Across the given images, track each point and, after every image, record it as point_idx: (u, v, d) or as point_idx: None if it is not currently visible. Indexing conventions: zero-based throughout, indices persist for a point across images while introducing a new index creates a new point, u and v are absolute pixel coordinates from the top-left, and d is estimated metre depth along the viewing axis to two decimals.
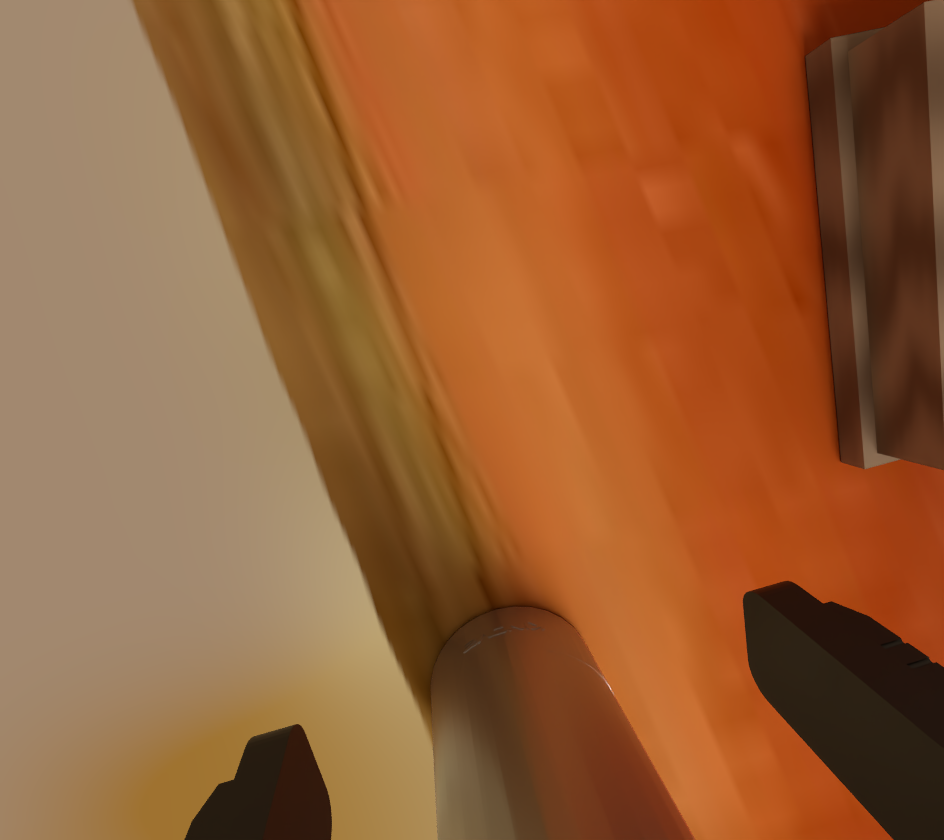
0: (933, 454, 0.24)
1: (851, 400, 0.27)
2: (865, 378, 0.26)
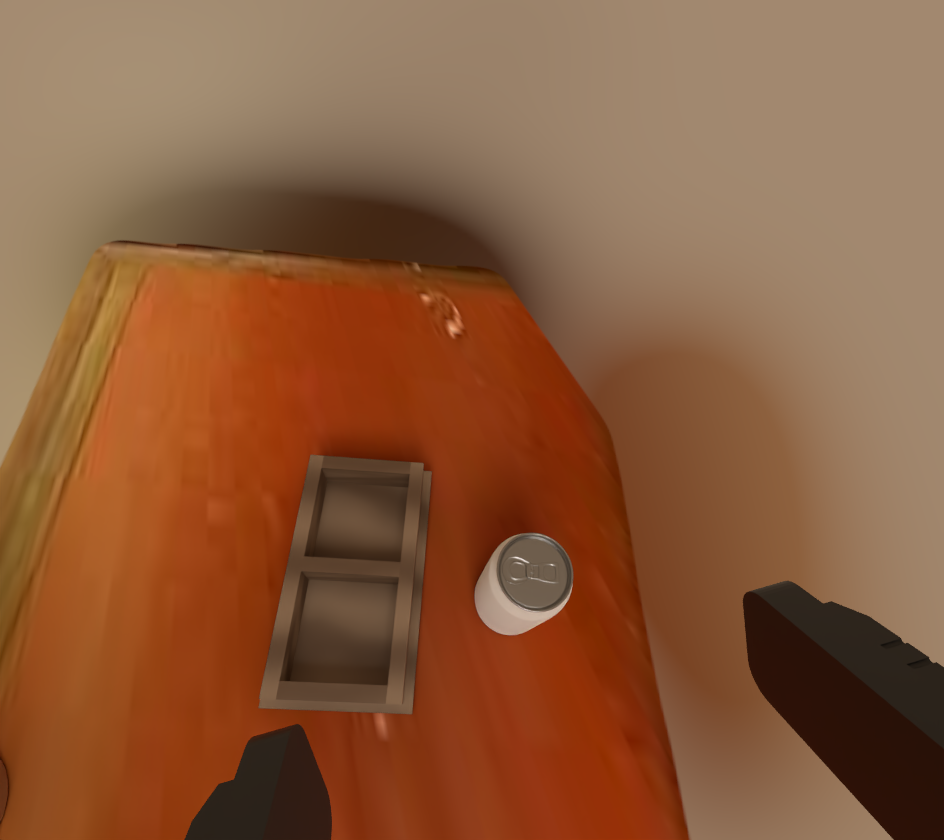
0: None
1: None
2: None
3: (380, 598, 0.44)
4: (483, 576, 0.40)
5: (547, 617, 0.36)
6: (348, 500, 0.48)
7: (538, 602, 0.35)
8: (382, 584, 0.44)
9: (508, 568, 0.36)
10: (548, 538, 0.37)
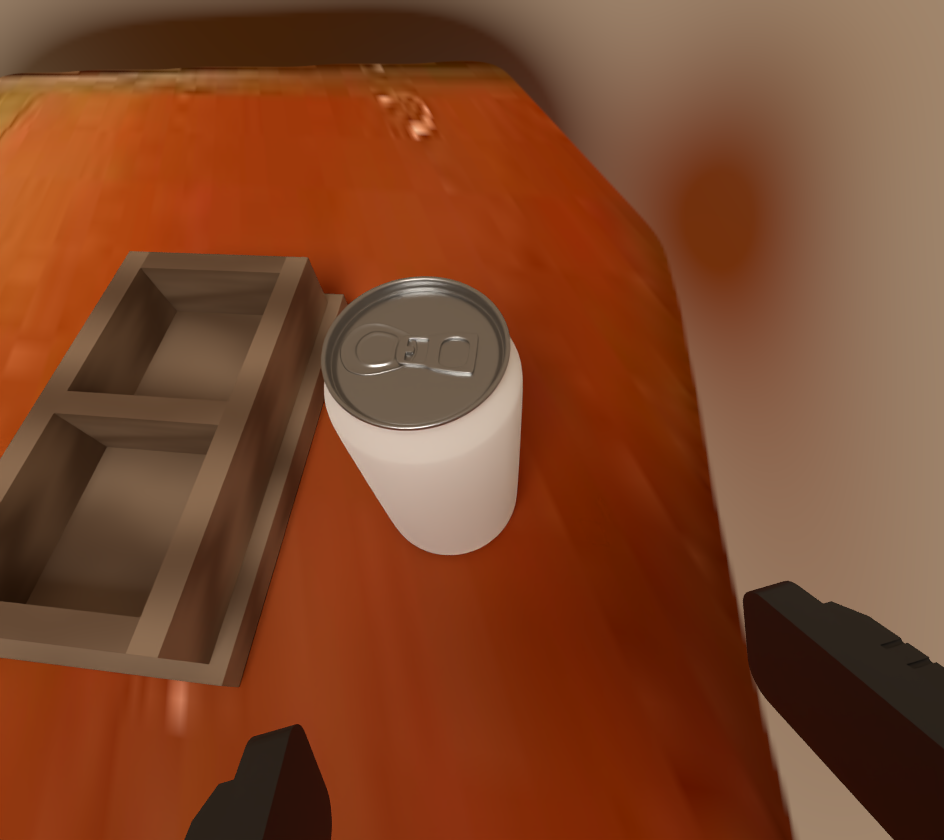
0: None
1: None
2: None
3: None
4: None
5: (444, 458, 0.14)
6: (202, 335, 0.29)
7: (413, 413, 0.14)
8: None
9: (356, 345, 0.15)
10: (461, 286, 0.16)
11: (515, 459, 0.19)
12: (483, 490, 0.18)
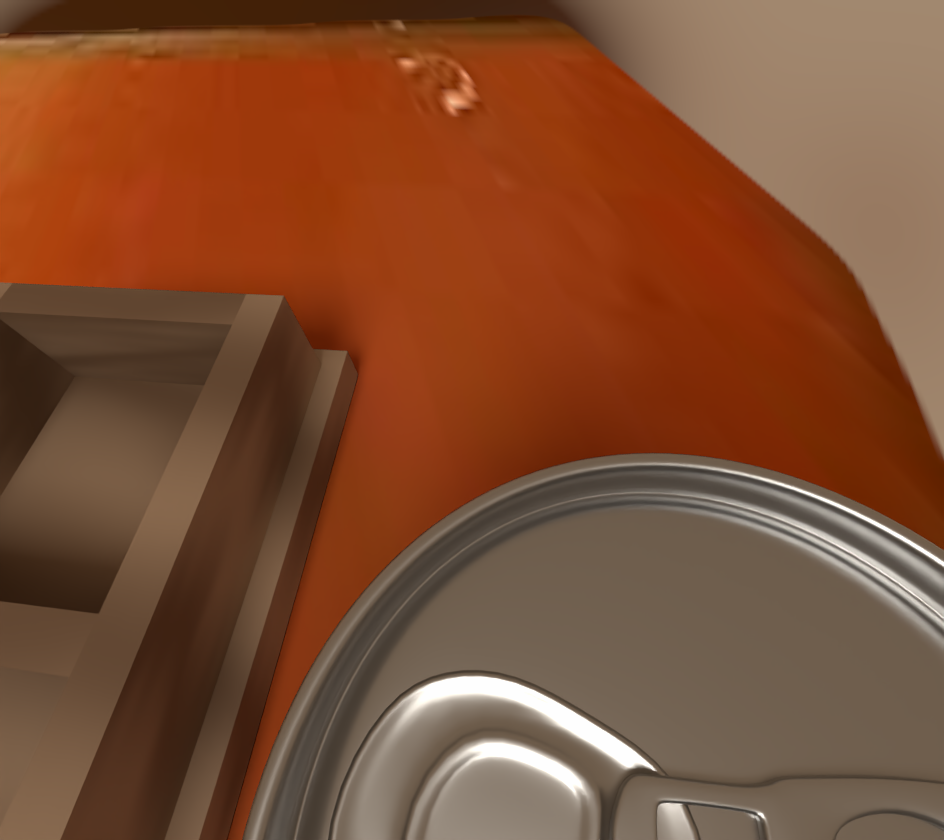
0: None
1: None
2: None
3: None
4: None
5: None
6: (109, 421, 0.17)
7: None
8: None
9: (403, 817, 0.03)
10: (834, 508, 0.04)
11: None
12: None
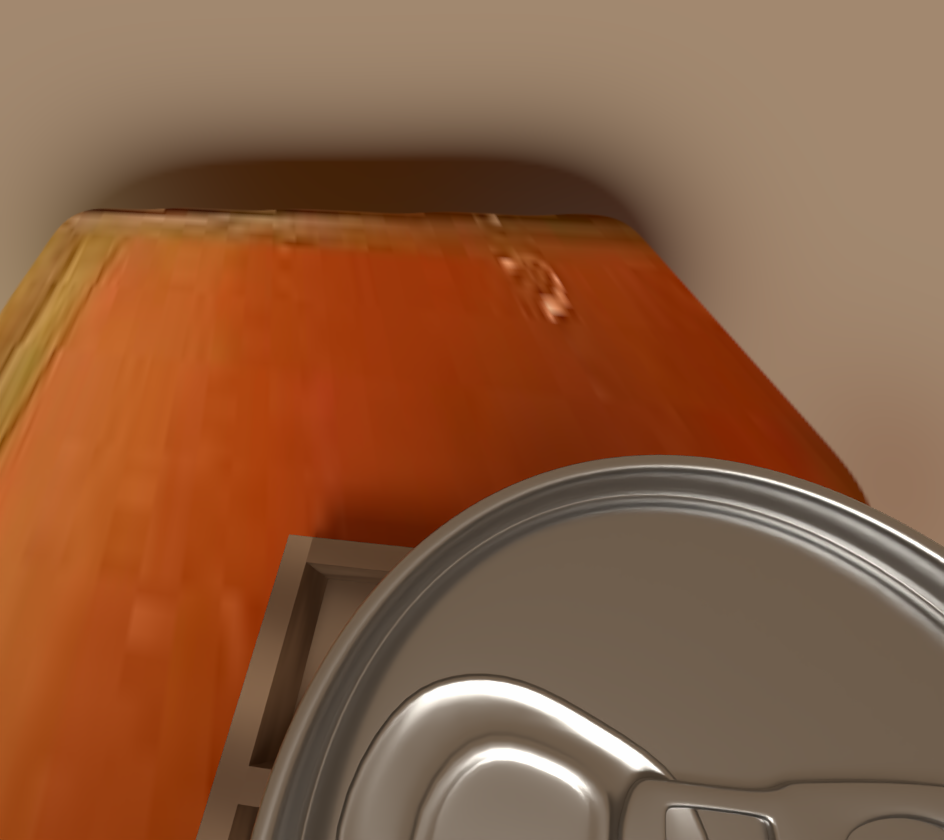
0: None
1: None
2: None
3: None
4: None
5: None
6: None
7: None
8: None
9: (411, 822, 0.03)
10: (842, 510, 0.04)
11: None
12: None
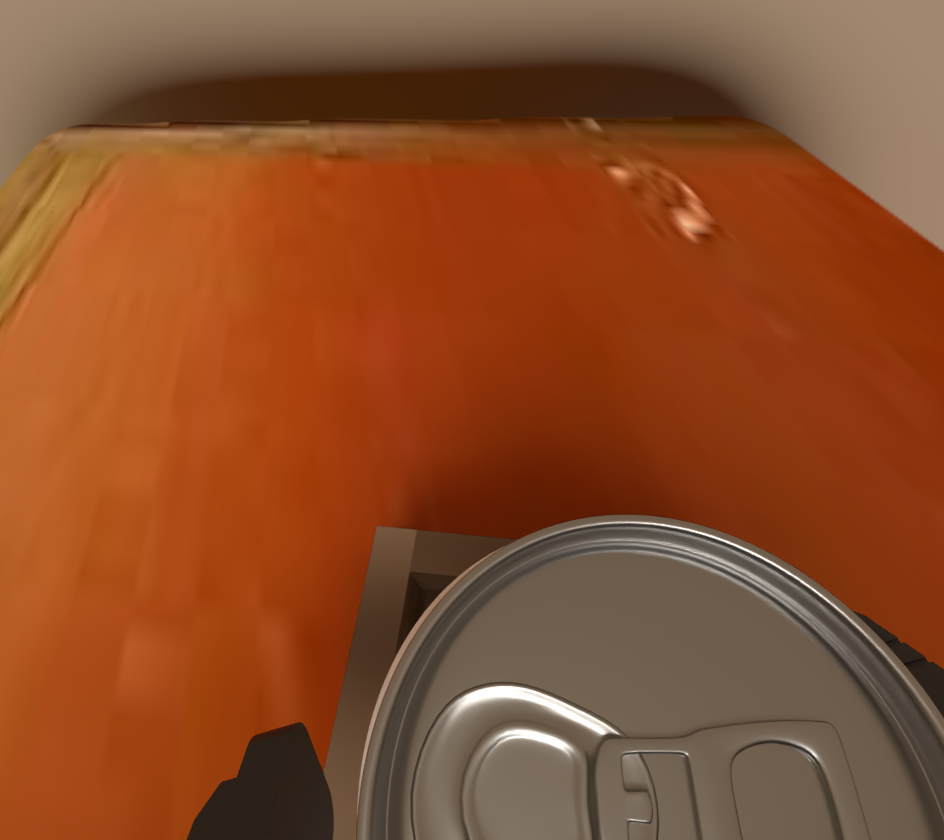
0: None
1: None
2: None
3: None
4: None
5: None
6: None
7: None
8: None
9: (458, 785, 0.05)
10: (726, 545, 0.06)
11: None
12: None
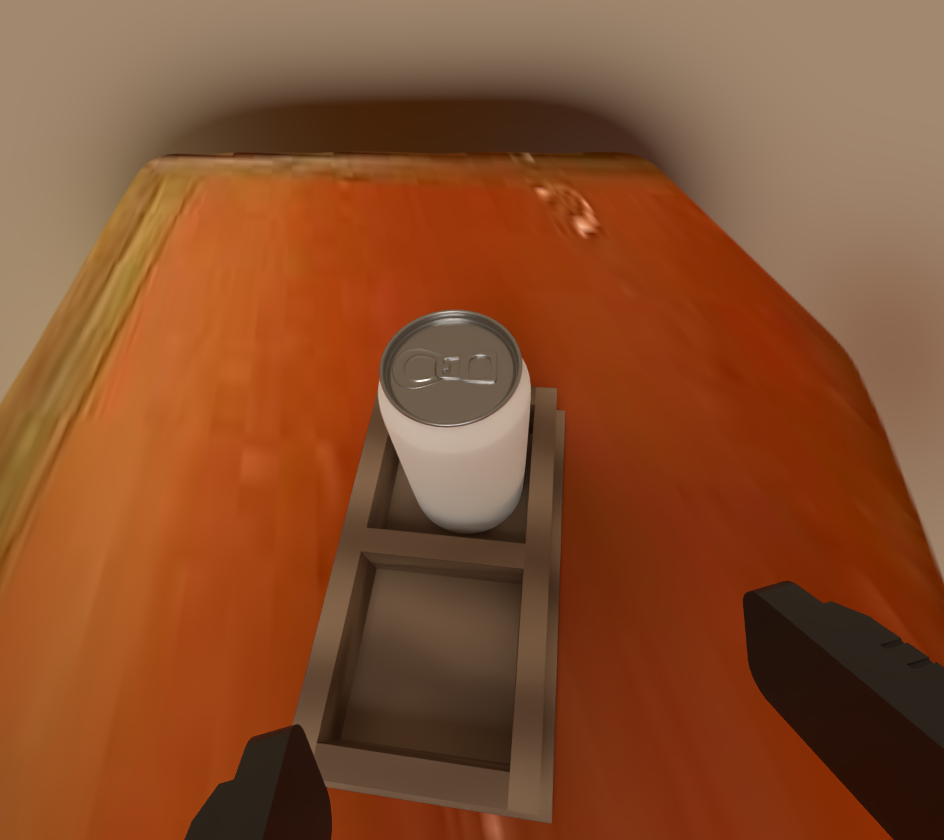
0: None
1: None
2: None
3: (489, 605, 0.26)
4: None
5: (479, 446, 0.19)
6: None
7: (455, 413, 0.19)
8: (492, 582, 0.27)
9: (404, 366, 0.20)
10: (479, 316, 0.21)
11: (525, 447, 0.24)
12: (504, 472, 0.22)
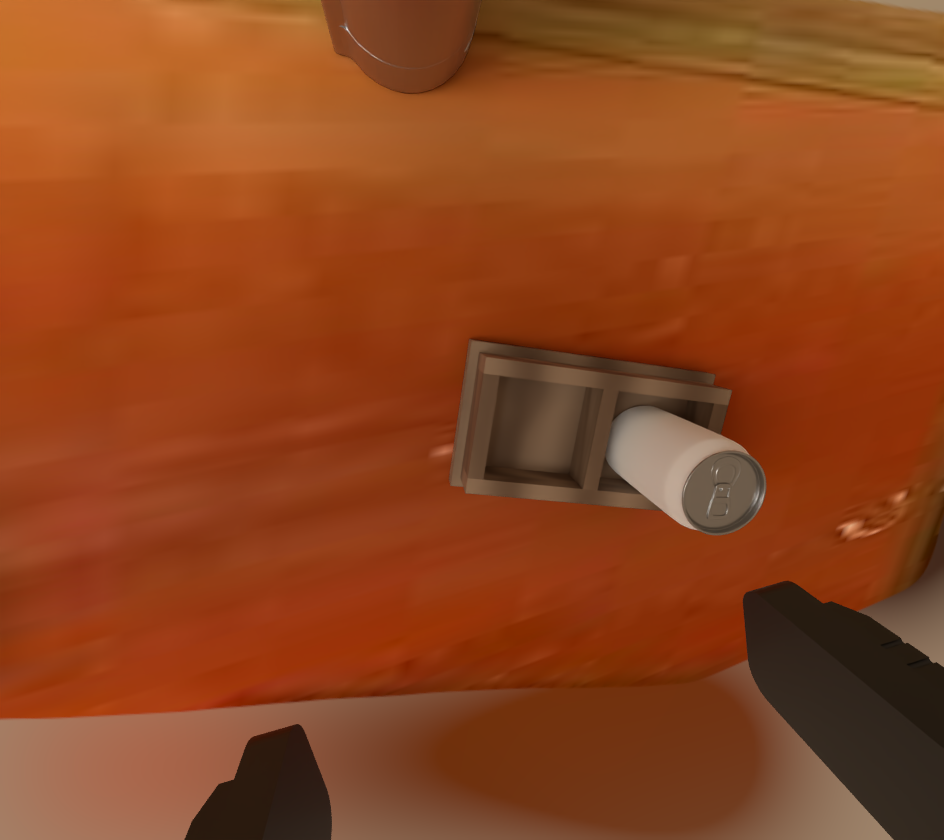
0: (494, 357, 0.36)
1: (517, 346, 0.40)
2: (531, 354, 0.40)
3: (558, 454, 0.42)
4: (696, 426, 0.35)
5: (666, 502, 0.32)
6: None
7: (690, 495, 0.31)
8: (571, 456, 0.42)
9: (728, 463, 0.31)
10: (757, 509, 0.32)
11: None
12: (646, 495, 0.36)
